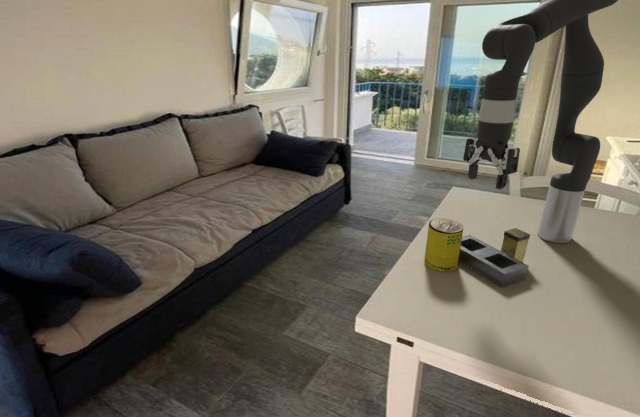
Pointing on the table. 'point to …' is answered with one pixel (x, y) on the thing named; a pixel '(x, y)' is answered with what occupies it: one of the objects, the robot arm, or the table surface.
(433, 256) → the beverage can
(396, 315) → the table surface
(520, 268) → the cinder block
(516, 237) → the tan banded block
